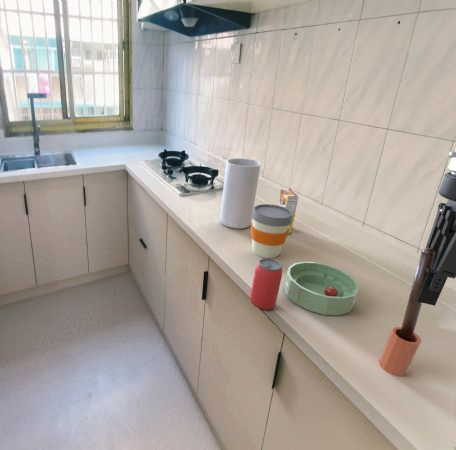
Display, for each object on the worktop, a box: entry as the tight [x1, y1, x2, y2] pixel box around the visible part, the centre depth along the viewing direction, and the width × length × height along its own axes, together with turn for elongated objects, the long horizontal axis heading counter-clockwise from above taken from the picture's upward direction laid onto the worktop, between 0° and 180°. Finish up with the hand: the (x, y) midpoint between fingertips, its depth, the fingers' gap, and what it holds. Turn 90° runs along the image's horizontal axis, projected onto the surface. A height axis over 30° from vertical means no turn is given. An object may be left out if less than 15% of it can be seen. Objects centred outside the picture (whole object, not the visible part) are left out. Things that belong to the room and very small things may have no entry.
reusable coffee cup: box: [250, 203, 292, 259], centre depth 112 cm, size 12×13×15 cm
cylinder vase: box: [219, 157, 262, 230], centre depth 132 cm, size 12×12×25 cm
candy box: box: [277, 188, 299, 234], centre depth 130 cm, size 9×4×15 cm, turn 177°
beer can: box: [249, 257, 283, 311], centre depth 87 cm, size 7×7×12 cm
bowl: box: [283, 261, 360, 317], centre depth 91 cm, size 17×17×6 cm
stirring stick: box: [399, 247, 435, 342], centre depth 64 cm, size 2×2×22 cm
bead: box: [324, 287, 338, 297], centre depth 90 cm, size 3×3×3 cm
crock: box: [378, 326, 422, 377], centre depth 68 cm, size 5×5×9 cm
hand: (423, 298), depth 63 cm, fingers closed on stirring stick, 2 cm apart
